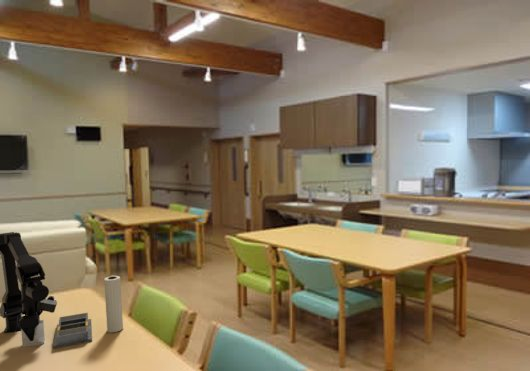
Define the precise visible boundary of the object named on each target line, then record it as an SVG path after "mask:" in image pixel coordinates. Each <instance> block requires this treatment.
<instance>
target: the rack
mask: <svg viewBox="0 0 530 371" xmlns="http://www.w3.org/2000/svg"><path fill="white" fill-rule="evenodd" d="M92 328H93V327H92V318H89V312H83V313H77V314H76V313H75V314H71V315H65V316H59V320H58V324H56V328H55V332H54V338H53V339H54V340H53V345H52V347H53V349H59V348H63V347H68V346H74V345H78V344H79V345H80V344H84V343H90V342H93V331H92V330H93V329H92Z"/></svg>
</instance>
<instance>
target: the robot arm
mask: <svg viewBox="0 0 530 371" xmlns="http://www.w3.org/2000/svg"><path fill="white" fill-rule="evenodd" d="M0 257H1V265H2V271H3V280H4V285H5V286H4V288H5V292H4V293H3V296H2V298H1V302H2V303H1V305H0V317H1V318H2V319H4V320H5V328H4V330H3V333H4V334H5V333H10V332H11V333H12V332H16V331H21V329H22V330H23V331H24V333H25V334H26V336H27V337H28V339H29V340H30V341H33V340H34V334H35V327H36V326H38V325H39V323H40V320H41V319H40V316H41V315H42V314H43V312H48V313H55V311H56V307H57V305H58V301H57V300H55V296H54V295H49V293H50V290H49V288H48V286H46V285H44V284H43V280H44V281H45V279H46V277H45V276H46V273H45V271H44V269H43V266H42V264H41V263H40V262H39V261H38V260H37V258H36V257H34V256H32V255H30V254H29V251H28V250H27V247H26V246H25V244H24V241H23V240H22V236H21V233H20V232H16V231H15V232H14V231H11V232H3V233H0ZM19 284H20V285H19Z"/></svg>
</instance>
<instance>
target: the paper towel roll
mask: <svg viewBox="0 0 530 371" xmlns="http://www.w3.org/2000/svg"><path fill="white" fill-rule="evenodd" d="M103 280H104V294H105V295H104V298H105V311H106V313H105V315H106V330H107V332H108V333H117V332H120V331H122V330H123V329H124V322H123V320H124V318H123V302H122V285H121V284H122V283H121V277H120V276H119V275H113V274H111V275H110V276H107V277H104V279H103Z"/></svg>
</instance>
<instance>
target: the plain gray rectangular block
mask: <svg viewBox="0 0 530 371" xmlns="http://www.w3.org/2000/svg"><path fill="white" fill-rule="evenodd" d="M20 331H21V340H22V341H21V342H22V348H27V347H28V348H29V347H34V346H37V345H43V344H45V341H46V340H45V339H46V338H45V337H46V336H45V322H44V319H40V323H39V325H38V326H36V327H35V334H34V340H33V341H30V340H29V339H28V337H27V336H26V334H25V333H24V331H23V330H22V329H21V330H20Z"/></svg>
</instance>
